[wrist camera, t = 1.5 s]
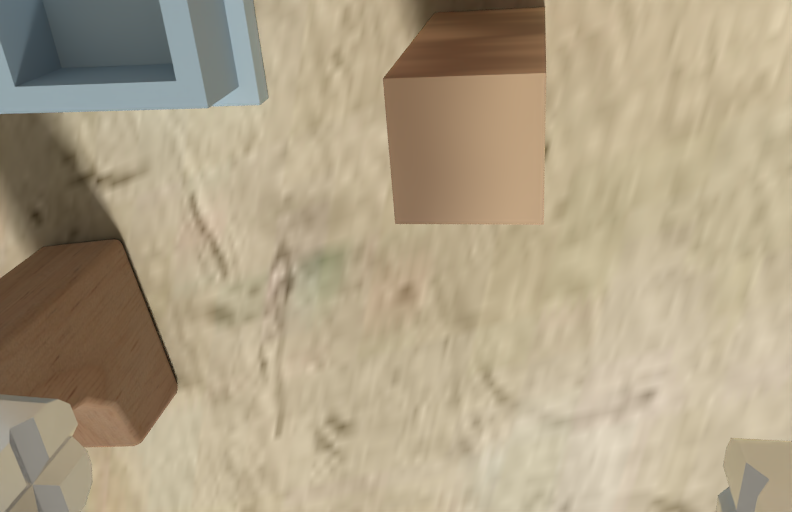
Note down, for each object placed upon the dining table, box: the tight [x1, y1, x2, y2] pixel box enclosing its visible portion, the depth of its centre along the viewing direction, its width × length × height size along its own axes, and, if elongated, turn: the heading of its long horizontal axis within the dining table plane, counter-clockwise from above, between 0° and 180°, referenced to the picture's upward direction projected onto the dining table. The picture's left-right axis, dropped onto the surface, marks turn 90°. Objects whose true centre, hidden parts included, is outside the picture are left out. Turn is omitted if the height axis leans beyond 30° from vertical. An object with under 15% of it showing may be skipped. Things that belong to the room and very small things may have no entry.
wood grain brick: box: [383, 7, 546, 224], centre depth 23 cm, size 4×4×10 cm
